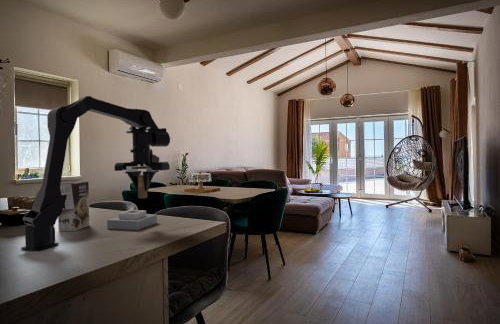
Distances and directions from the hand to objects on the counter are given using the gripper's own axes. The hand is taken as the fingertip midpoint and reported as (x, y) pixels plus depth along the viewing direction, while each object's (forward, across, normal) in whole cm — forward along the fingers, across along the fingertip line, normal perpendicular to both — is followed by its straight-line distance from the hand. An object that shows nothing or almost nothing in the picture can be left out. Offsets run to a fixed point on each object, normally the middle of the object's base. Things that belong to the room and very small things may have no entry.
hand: (142, 191), depth 114 cm
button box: (+13, +5, -1) cm, 14 cm away
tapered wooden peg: (+2, 0, 0) cm, 2 cm away
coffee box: (+13, +23, +7) cm, 27 cm away
